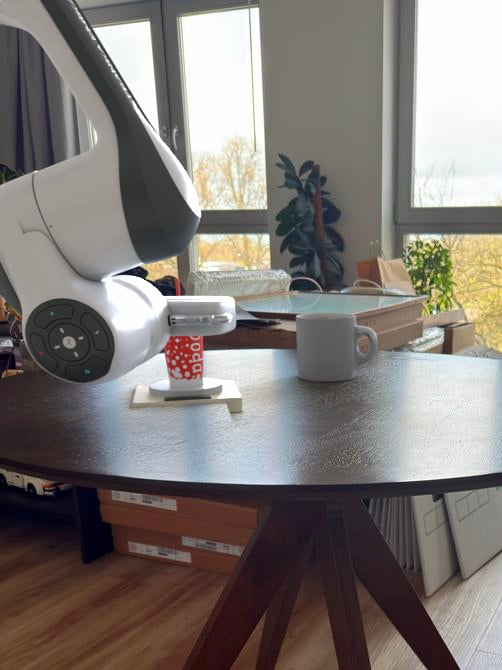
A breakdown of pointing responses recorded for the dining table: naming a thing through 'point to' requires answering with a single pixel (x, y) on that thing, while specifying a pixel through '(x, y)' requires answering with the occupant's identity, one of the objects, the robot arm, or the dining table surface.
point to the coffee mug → (331, 346)
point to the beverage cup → (184, 358)
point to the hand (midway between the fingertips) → (157, 308)
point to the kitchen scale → (188, 394)
